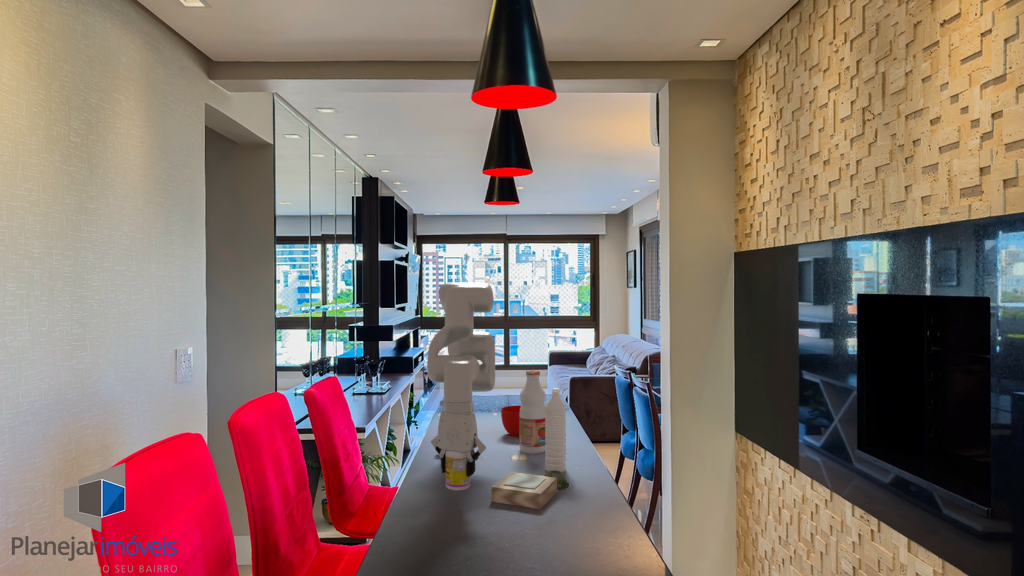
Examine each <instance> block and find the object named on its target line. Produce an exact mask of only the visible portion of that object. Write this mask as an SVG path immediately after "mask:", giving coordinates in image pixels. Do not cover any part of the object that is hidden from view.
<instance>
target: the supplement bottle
mask: <svg viewBox="0 0 1024 576" xmlns="http://www.w3.org/2000/svg"><path fill="white" fill-rule="evenodd" d="M467 462H468V457H467V455H466V453H464V452H456V451H449V450H446V472H445V487H446V488H447V489H449V490H451V491H465V490H467V489H468V488H469V487H470V486H471V480H472V479H471V478H472V477H471V476H472V475H471V476H470V477H467Z"/></svg>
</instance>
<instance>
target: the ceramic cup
mask: <svg viewBox="0 0 1024 576" xmlns="http://www.w3.org/2000/svg"><path fill="white" fill-rule="evenodd" d="M520 407H521V405H508V406H503V407H501V410H500V415H501V417H500V418H501V423H502V426H503V428H504V430H505V431H506V432H507V434H508V435H509V436H511V437H519V438H520Z"/></svg>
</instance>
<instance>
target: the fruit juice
mask: <svg viewBox="0 0 1024 576" xmlns="http://www.w3.org/2000/svg"><path fill="white" fill-rule="evenodd" d="M525 376H526V381H525V385H524V388H523V389H522V390H521V392H520V395H519V400H520V404H521V405H520V406H521V407H520V436H519V451H520V452H521V453H525V454H528V455H529V454H533V455H537V454H542V453H544V452H545V450H546V449H545V444H546V443H545V438H546V437H545V430H546V429H545V427H546V426H545V422H546V421H545V417H546V416H545V414H546V413H545V406H546V400H547V397H546V395H547V394H546V392H545V390H544V388H543V387H542V386H541V382H540V376H541V371H540V370H534V369H533V370H531V369H530V370H526V372H525Z"/></svg>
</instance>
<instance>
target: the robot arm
mask: <svg viewBox="0 0 1024 576" xmlns="http://www.w3.org/2000/svg"><path fill="white" fill-rule="evenodd" d="M494 297H495V296H494V292H493V288H492V286H491V284H490V283H486V282H485V283H484V282H482V283H481V282H448V283H444V284H442V285H440V286H439V288H438V299H439V301H440V304H441V306H442V309H443V311H444V326H443V327H442V328H441V329H440V330H438V331H437V333H435V335H434V337H433V338H432V339H431V341H430V343H429V346H428V351H427V362H426V363H427V365H426V370H427V371H426V372H427V376H428V379H429V380H430V381H431V382H433V383H443V400H440V401H439V406H441V407H442V408H443V410H442V411H440V415H439V420H438V427H437V435H436V436H435V437H434V438H433V439H432V440H430V443H431V445H432V447H433V448H434V450H435V451H436V453H437V454H438V456H439V458H440V467H441V468H440V469H441V473H442V474H446V450H449V451H456V452H464V453H466V455H467V457H468V462H467V477H470V476H473V475H474V474H475V471H476V460H477V459H478V458H479V457H480V456H481V455H482V454H483V453H484V451H486V449H487V446H486V445H485V444H484V443H483V442H482V440H481V439H480V438H479V437H478V426H477V425H478V424H477V418H476V414H475V405H474V402H473V393H477V392H478V393H480V392H482V393H484V392H485V393H486V392H490V391H493V389H494V388H495V383H496V343H495V342H496V341H495V337H494V335H493V334H492V333H490V332H488V331H474V327H475V326H474V325H475V324H474V313H490V312H492V310H493V307H494V302H495V301H494V300H495V299H494ZM446 347H447V353H448V354H441V355H440V354H439V353H440V352H441V351H442V350H443V349H444V348H446ZM479 361H480V362H481V363H480V362H479ZM476 448H478V449H477V450H475V449H476Z"/></svg>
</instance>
